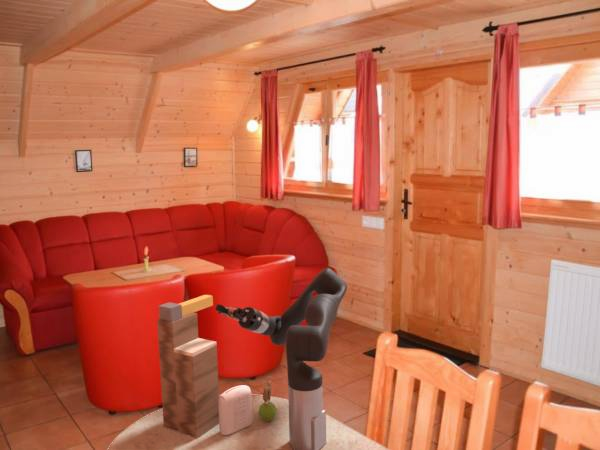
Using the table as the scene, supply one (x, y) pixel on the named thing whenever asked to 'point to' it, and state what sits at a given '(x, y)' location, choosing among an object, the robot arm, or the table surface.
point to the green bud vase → (267, 404)
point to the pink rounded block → (235, 409)
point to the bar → (184, 308)
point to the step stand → (188, 377)
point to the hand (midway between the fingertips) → (227, 308)
